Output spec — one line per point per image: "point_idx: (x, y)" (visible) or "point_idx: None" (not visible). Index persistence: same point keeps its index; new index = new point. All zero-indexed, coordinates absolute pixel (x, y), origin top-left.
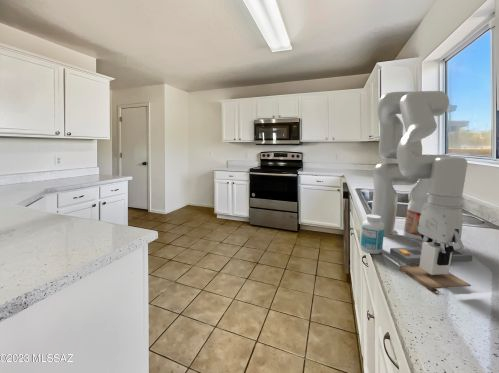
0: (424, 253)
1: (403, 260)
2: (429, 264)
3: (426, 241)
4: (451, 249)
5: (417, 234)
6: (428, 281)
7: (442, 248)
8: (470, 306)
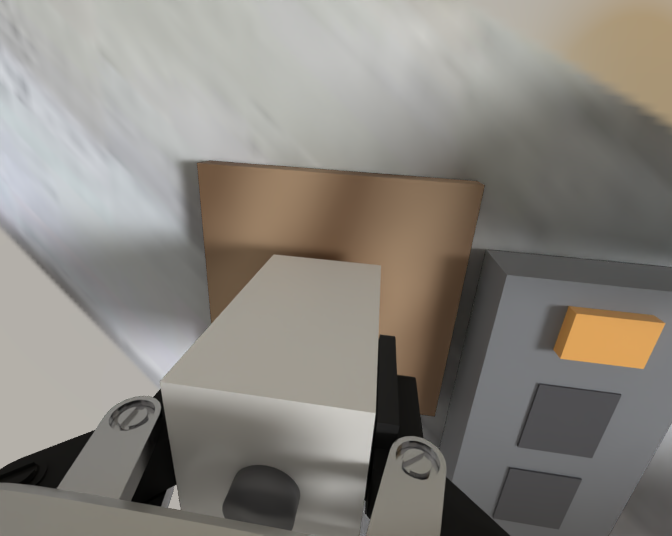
0: (337, 326)
1: (531, 266)
2: (281, 281)
3: (385, 477)
4: (7, 466)
5: None
6: (258, 204)
7: (123, 440)
8: (96, 241)
